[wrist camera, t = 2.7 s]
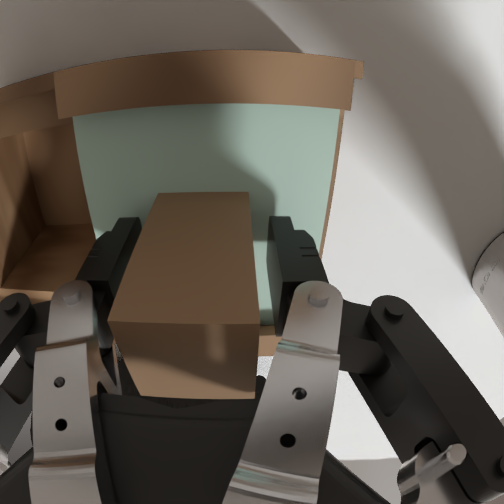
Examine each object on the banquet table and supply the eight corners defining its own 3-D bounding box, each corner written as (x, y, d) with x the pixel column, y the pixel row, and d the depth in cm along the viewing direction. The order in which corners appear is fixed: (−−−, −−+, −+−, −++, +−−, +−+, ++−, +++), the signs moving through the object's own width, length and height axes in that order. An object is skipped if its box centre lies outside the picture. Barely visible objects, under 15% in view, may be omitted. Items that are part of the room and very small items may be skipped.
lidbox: (304, 53, 16) (371, 63, 8) (287, 240, 23) (313, 353, 15) (4, 87, 15) (-101, 136, 7) (39, 242, 22) (-18, 333, 14)
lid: (333, 88, 10) (447, 154, 4) (301, 308, 16) (327, 436, 11) (82, 96, 10) (-51, 171, 4) (126, 308, 16) (95, 431, 10)
